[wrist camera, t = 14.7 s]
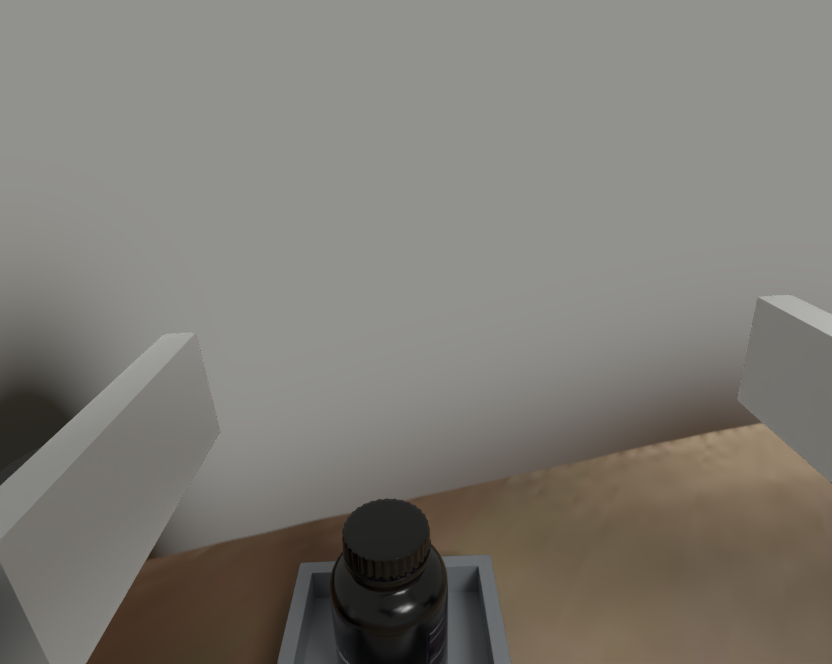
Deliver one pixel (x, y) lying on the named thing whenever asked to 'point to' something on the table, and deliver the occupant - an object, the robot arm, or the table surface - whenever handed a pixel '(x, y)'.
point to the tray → (467, 615)
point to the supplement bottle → (389, 588)
